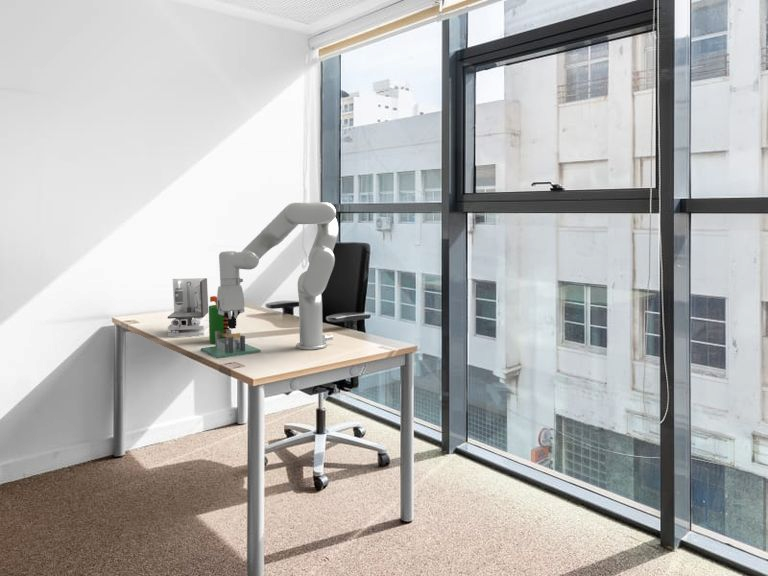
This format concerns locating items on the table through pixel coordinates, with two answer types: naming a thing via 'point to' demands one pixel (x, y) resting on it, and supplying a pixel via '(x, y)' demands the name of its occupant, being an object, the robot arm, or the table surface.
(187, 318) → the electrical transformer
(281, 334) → the table surface
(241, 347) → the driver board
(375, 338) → the table surface
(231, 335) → the strap
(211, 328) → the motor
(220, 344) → the heat sink
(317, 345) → the robot arm
